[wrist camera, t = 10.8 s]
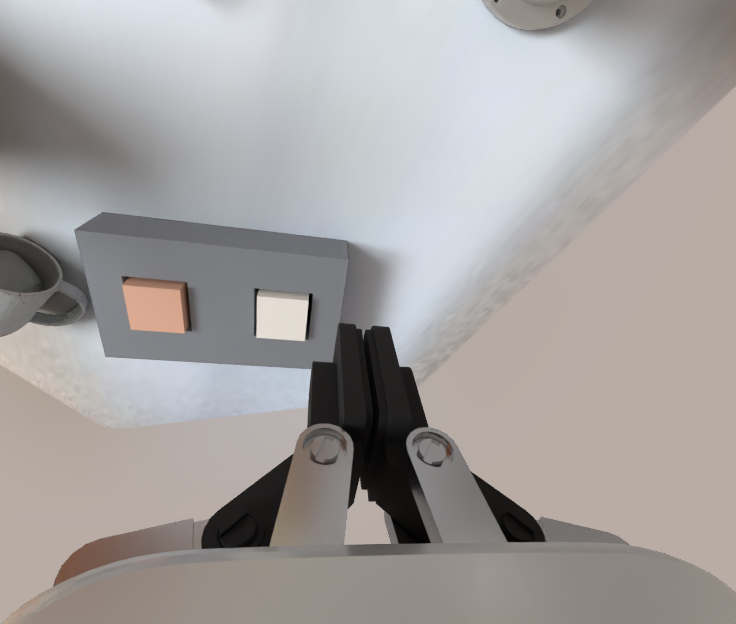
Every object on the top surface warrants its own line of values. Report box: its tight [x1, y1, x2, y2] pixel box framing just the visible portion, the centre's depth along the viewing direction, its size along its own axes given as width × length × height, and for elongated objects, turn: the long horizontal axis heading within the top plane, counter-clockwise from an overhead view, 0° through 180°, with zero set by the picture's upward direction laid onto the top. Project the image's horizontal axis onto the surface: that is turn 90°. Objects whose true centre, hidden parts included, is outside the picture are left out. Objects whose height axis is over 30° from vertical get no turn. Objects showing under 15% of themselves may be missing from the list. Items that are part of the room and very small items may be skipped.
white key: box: [256, 289, 309, 341], centre depth 41 cm, size 5×5×5 cm
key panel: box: [74, 212, 349, 369], centre depth 41 cm, size 24×14×5 cm, turn 81°
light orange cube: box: [122, 277, 191, 333], centre depth 39 cm, size 5×5×5 cm
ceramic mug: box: [0, 232, 87, 337], centre depth 37 cm, size 11×8×8 cm
